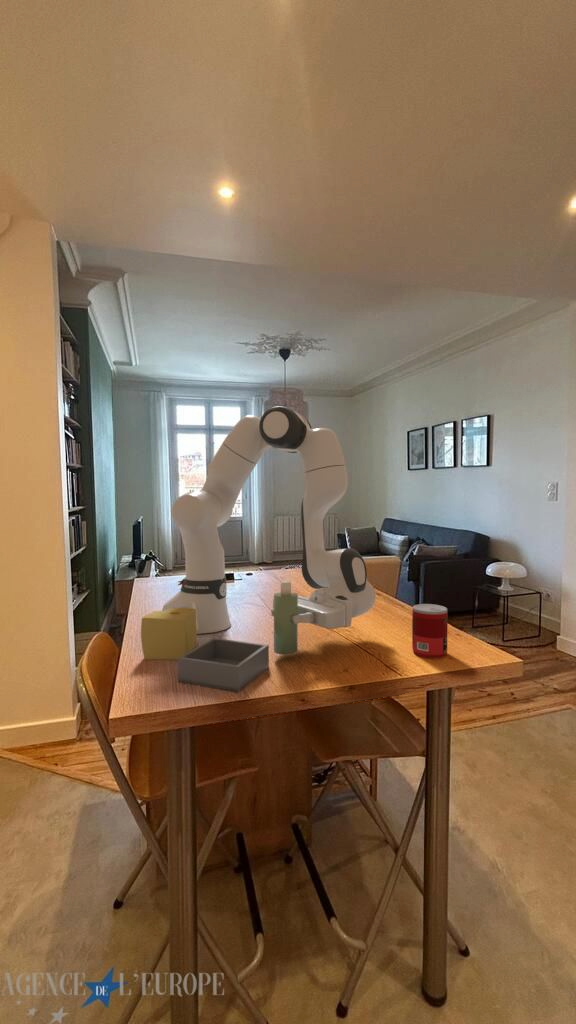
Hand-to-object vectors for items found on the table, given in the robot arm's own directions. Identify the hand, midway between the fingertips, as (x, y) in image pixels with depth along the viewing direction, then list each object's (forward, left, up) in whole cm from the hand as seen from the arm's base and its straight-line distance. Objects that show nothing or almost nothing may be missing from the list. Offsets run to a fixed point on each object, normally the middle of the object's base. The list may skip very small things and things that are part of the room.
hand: (282, 616), depth 109 cm
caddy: (-8, -12, -10) cm, 18 cm away
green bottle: (0, +1, -8) cm, 8 cm away
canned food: (+31, +17, -10) cm, 37 cm away
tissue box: (-27, -5, -11) cm, 30 cm away
